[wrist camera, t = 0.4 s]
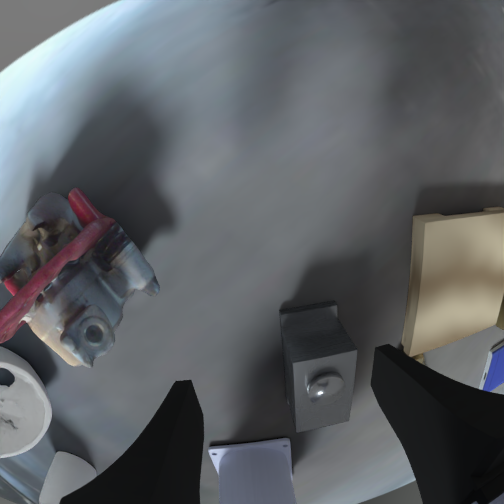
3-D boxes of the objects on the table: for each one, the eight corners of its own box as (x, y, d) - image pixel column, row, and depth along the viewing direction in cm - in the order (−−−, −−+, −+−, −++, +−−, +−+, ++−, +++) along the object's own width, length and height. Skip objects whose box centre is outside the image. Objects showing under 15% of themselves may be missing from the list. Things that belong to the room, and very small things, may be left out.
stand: (484, 314, 23) (495, 324, 22) (398, 344, 23) (408, 357, 21) (500, 206, 20) (515, 211, 18) (409, 216, 20) (425, 222, 18)
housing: (331, 388, 24) (350, 433, 19) (286, 397, 24) (298, 446, 19) (333, 300, 21) (362, 342, 16) (278, 309, 21) (294, 356, 16)
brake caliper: (52, 125, 14) (26, 290, 7) (164, 213, 22) (226, 353, 16) (-26, 247, 15) (-40, 405, 8) (78, 296, 24) (106, 426, 17)
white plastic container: (86, 547, 16) (68, 545, 16) (104, 471, 27) (85, 478, 28) (37, 522, 14) (24, 522, 15) (64, 446, 25) (49, 455, 26)
